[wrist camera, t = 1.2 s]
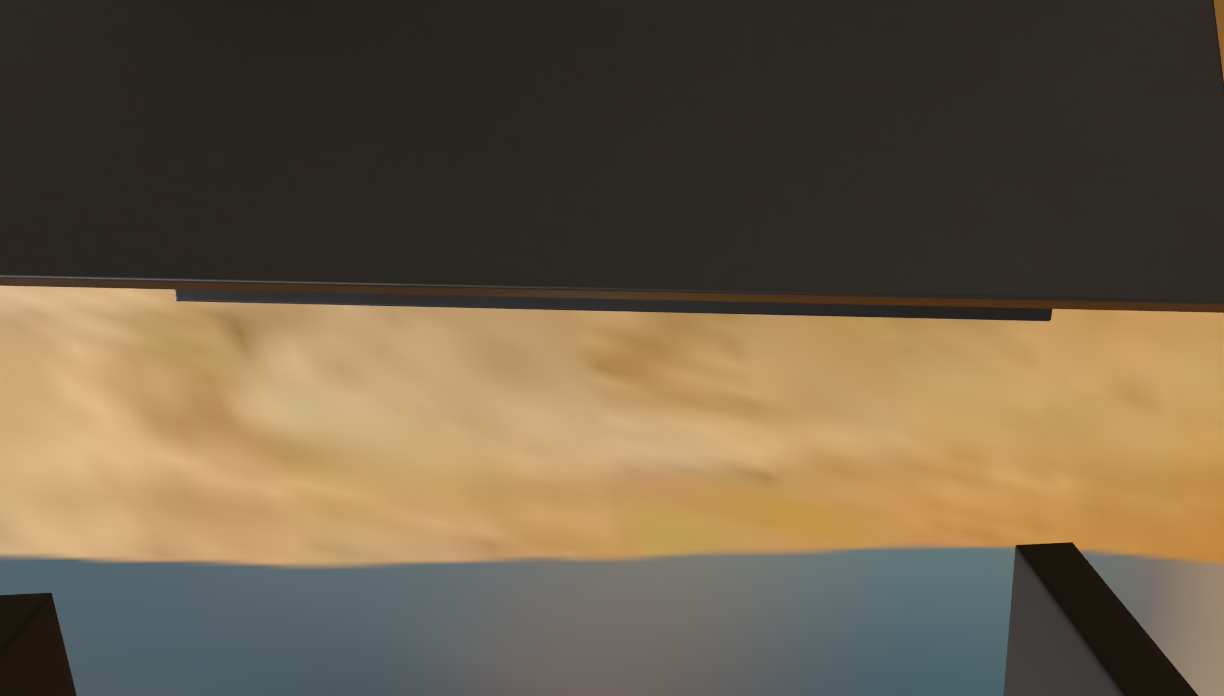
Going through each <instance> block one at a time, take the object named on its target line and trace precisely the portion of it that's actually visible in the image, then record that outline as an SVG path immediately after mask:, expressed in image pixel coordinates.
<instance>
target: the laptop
mask: <svg viewBox="0 0 1224 696" xmlns="http://www.w3.org/2000/svg"><path fill="white" fill-rule="evenodd" d="M174 291H175V298H176V301H195V302H239V303H283V304H326V305H370V306H413V307H457V308H500V309H544V310H587V311H631V312H675V313H718V314H762V315H805V316H849V317H892V318H936V319H979V320H1023V321H1050V320H1051V315H1052V309H1042V308H997V307H952V306H907V305H862V304H817V303H772V302H726V301H681V300H636V299H591V298H546V297H501V296H455V295H410V294H365V293H320V292H275V291H230V290H185V289H174Z"/></svg>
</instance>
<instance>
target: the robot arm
mask: <svg viewBox="0 0 1224 696" xmlns="http://www.w3.org/2000/svg"><path fill="white" fill-rule="evenodd" d="M1004 686H1005V687H1004V696H1198V695H1197V694H1196V692H1195V691H1194V690H1193V689H1192V688H1191V686H1190V685H1189V684H1188V683H1187V681H1186V680H1185V679H1184V678H1183V677H1182V675H1181V674H1180V673H1179V672H1178V671H1177V669H1176V668H1175V667H1174V666H1173V664H1172V663H1171V662H1170V661H1169V660H1168V658H1167V657H1166V656H1165V655H1164V654H1163V653H1162V651H1161V650H1160V649H1159V647H1157V645H1156V644H1155V643H1154V641H1153V640H1152V639H1151V638H1150V636H1149V635H1148V634H1147V633H1146V632H1145V630H1144V629H1143V628H1142V627H1141V626H1140V624H1139V623H1138V622H1137V621H1136V619H1134V617H1133V616H1132V615H1131V613H1130V612H1129V611H1128V610H1127V609H1126V607H1125V606H1124V605H1123V604H1122V602H1121V601H1120V600H1119V599H1118V598H1117V596H1116V595H1115V594H1114V593H1113V592H1112V590H1111V589H1110V588H1109V587H1108V586H1107V584H1106V583H1105V582H1104V581H1103V579H1102V578H1101V577H1100V576H1099V575H1098V573H1097V572H1096V571H1095V570H1094V568H1093V567H1092V566H1091V565H1090V564H1089V562H1088V561H1087V560H1086V559H1085V558H1084V556H1083V555H1082V554H1081V553H1080V551H1079V550H1078V549H1077V548H1076V547H1075V545H1074V544H1073V543H1072V542H1071V543H1051V544H1031V545H1016V549H1015V562H1014V574H1013V586H1012V599H1011V611H1010V623H1009V636H1008V648H1007V660H1006V672H1005V685H1004ZM0 696H76V692H75V687H74V683H73V679H72V675H71V671H70V667H69V663H68V659H67V655H66V651H65V647H64V642H63V638H62V634H61V630H60V626H59V622H58V618H57V613H56V609H55V605H54V601H53V597H52V593H39V594H19V595H0Z"/></svg>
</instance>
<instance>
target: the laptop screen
mask: <svg viewBox="0 0 1224 696" xmlns="http://www.w3.org/2000/svg"><path fill="white" fill-rule="evenodd" d="M0 285H4V286H49V287H94V288H139V289H185V290H230V291H275V292H320V293H365V294H410V295H455V296H501V297H546V298H591V299H636V300H681V301H726V302H772V303H817V304H862V305H907V306H952V307H997V308H1042V309H1088V310H1133V311H1178V312H1223V313H1224V81H1223V73H1222V65H1221V57H1220V49H1219V41H1218V33H1217V25H1216V17H1215V9H1214V1H1213V0H0Z"/></svg>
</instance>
